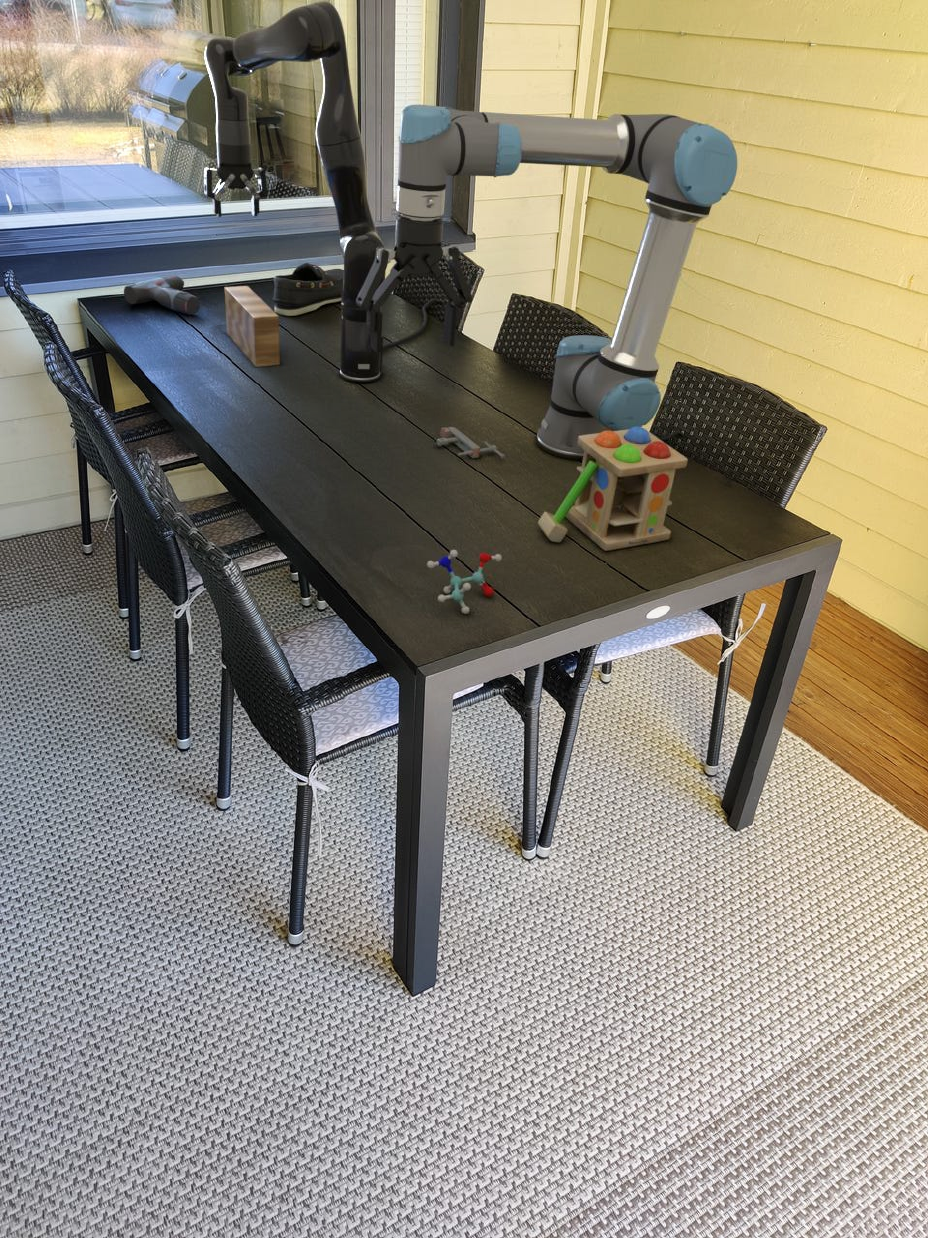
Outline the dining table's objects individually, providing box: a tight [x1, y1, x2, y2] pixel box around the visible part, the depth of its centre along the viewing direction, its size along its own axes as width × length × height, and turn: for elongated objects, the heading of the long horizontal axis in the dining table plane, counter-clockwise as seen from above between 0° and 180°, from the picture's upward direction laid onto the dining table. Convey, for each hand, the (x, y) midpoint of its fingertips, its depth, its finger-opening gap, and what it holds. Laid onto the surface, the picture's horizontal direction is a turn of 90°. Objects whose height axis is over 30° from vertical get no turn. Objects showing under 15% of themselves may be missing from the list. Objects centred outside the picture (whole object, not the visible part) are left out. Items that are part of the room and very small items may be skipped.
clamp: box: [436, 426, 507, 460], centre depth 201 cm, size 15×2×10 cm
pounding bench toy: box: [537, 426, 689, 552], centre depth 173 cm, size 23×14×18 cm, turn 116°
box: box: [224, 285, 281, 368], centre depth 238 cm, size 24×6×12 cm, turn 27°
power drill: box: [123, 275, 201, 316], centre depth 262 cm, size 5×19×20 cm
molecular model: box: [426, 549, 503, 615], centre depth 154 cm, size 12×10×10 cm
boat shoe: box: [272, 262, 344, 317], centre depth 274 cm, size 13×33×10 cm, turn 147°
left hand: (236, 215), depth 231 cm, fingers open, 8 cm apart
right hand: (412, 346), depth 167 cm, fingers open, 13 cm apart
